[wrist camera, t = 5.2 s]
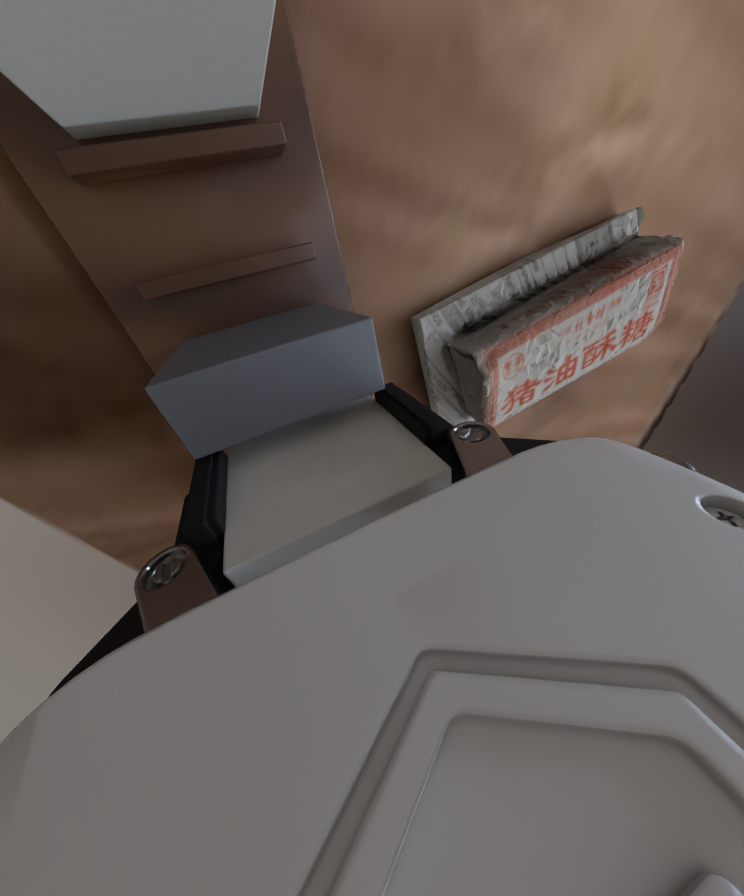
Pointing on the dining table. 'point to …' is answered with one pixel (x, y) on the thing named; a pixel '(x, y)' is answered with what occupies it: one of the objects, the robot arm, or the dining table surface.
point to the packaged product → (545, 320)
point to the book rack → (191, 210)
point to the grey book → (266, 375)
